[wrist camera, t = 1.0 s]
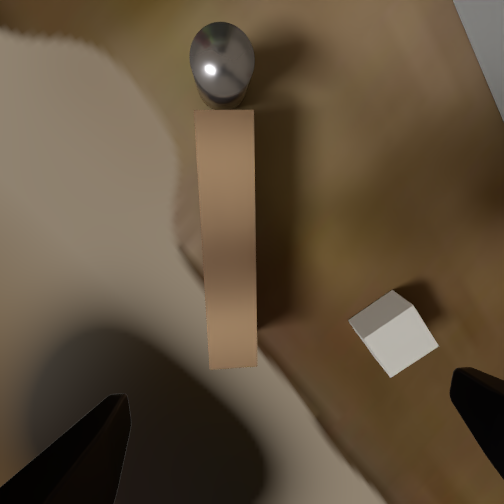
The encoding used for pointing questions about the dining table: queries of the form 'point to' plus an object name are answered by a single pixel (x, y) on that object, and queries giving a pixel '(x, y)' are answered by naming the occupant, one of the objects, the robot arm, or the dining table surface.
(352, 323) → the stop block
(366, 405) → the dining table surface
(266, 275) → the dining table surface
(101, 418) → the robot arm
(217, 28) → the pivot pin
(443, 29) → the dining table surface
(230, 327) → the leg bar
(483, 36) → the socket
